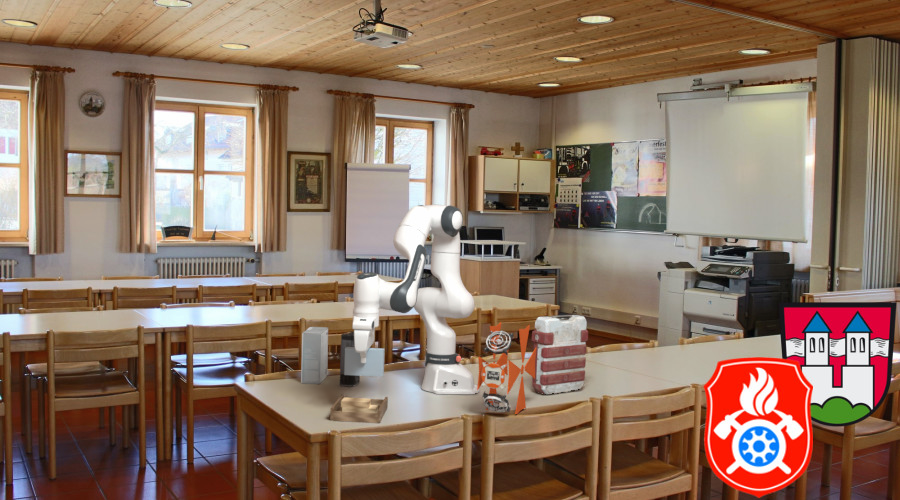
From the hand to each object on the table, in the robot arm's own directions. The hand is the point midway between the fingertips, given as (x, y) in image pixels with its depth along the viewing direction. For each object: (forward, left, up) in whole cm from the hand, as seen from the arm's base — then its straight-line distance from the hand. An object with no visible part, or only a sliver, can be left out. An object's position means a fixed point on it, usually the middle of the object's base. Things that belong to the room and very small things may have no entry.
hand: (364, 361), depth 268 cm
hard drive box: (+26, -43, -17) cm, 53 cm away
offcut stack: (0, +9, -17) cm, 19 cm away
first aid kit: (-70, -44, -17) cm, 84 cm away
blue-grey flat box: (0, 0, -5) cm, 5 cm away
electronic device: (+11, -38, -17) cm, 43 cm away
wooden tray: (0, +6, -17) cm, 18 cm away
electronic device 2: (-49, -10, -17) cm, 53 cm away
